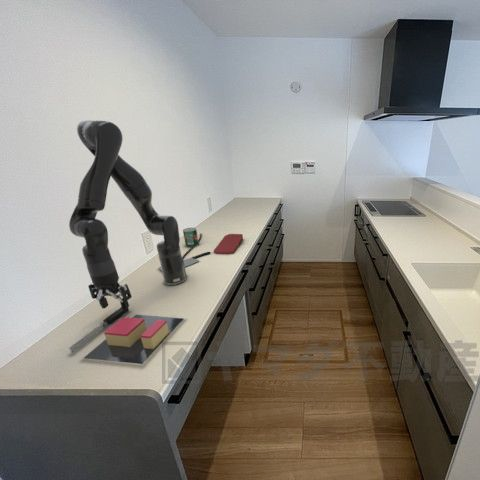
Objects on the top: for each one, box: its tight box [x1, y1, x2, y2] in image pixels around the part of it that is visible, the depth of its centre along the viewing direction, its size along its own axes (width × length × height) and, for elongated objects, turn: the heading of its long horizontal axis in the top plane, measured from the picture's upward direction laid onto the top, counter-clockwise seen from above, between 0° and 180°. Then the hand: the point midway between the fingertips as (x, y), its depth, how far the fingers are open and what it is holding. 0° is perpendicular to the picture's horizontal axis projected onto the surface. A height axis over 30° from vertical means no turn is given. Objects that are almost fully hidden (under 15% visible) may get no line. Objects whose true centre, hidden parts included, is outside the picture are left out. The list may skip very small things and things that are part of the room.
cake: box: [103, 316, 147, 347], centre depth 90 cm, size 8×8×5 cm
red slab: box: [213, 233, 244, 255], centre depth 171 cm, size 12×5×25 cm
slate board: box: [83, 314, 184, 365], centre depth 92 cm, size 22×20×1 cm
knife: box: [68, 306, 130, 353], centre depth 95 cm, size 22×2×3 cm, turn 174°
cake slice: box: [141, 320, 169, 349], centre depth 89 cm, size 8×4×5 cm, turn 174°
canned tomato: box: [182, 227, 200, 249], centre depth 170 cm, size 8×8×11 cm
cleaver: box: [158, 251, 211, 272], centre depth 148 cm, size 29×1×10 cm
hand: (115, 307), depth 100 cm, fingers open, 8 cm apart
